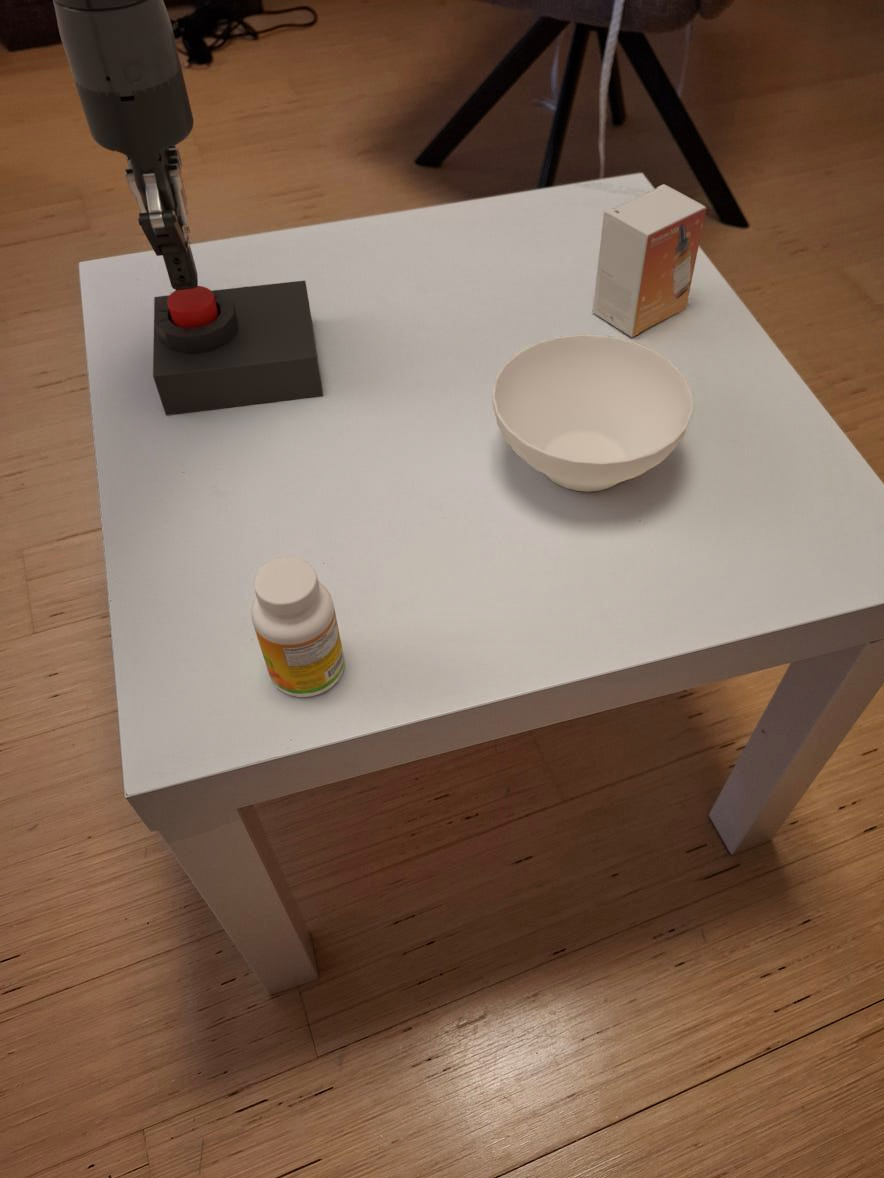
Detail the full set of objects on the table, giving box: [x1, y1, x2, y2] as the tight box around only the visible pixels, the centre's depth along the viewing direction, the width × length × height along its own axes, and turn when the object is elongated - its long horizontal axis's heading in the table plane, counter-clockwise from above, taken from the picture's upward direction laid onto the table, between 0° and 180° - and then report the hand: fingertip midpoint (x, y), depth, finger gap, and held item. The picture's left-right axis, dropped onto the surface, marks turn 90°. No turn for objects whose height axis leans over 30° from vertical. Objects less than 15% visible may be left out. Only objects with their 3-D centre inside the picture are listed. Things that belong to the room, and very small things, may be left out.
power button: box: [167, 285, 218, 328], centre depth 82 cm, size 4×4×2 cm
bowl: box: [491, 333, 695, 493], centre depth 77 cm, size 16×16×7 cm
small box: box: [592, 183, 707, 338], centre depth 89 cm, size 8×6×10 cm
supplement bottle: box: [250, 556, 345, 698], centre depth 63 cm, size 5×5×10 cm
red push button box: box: [152, 279, 324, 416], centre depth 86 cm, size 14×12×6 cm
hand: (185, 284), depth 81 cm, fingers closed
